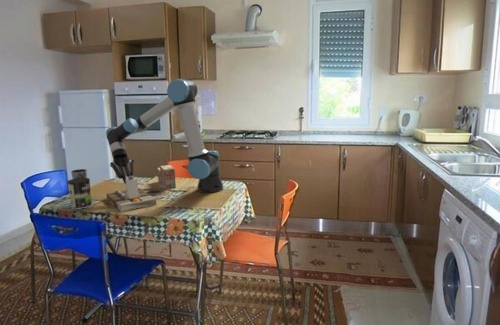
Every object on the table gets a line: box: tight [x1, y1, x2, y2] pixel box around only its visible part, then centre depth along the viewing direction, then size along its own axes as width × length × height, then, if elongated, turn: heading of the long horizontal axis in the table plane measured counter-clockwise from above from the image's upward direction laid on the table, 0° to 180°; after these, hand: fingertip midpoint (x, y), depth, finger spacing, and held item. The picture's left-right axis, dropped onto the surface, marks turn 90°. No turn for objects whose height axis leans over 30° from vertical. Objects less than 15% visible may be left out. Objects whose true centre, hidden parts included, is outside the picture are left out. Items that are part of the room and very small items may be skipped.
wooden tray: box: [106, 187, 157, 212], centre depth 197 cm, size 28×18×4 cm, turn 35°
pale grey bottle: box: [125, 175, 139, 199], centre depth 193 cm, size 3×5×12 cm, turn 125°
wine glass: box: [70, 168, 88, 179], centre depth 210 cm, size 8×8×15 cm
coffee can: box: [67, 177, 93, 210], centre depth 191 cm, size 10×10×14 cm
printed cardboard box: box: [156, 164, 177, 190], centre depth 230 cm, size 21×6×12 cm, turn 26°
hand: (129, 187), depth 195 cm, fingers closed
